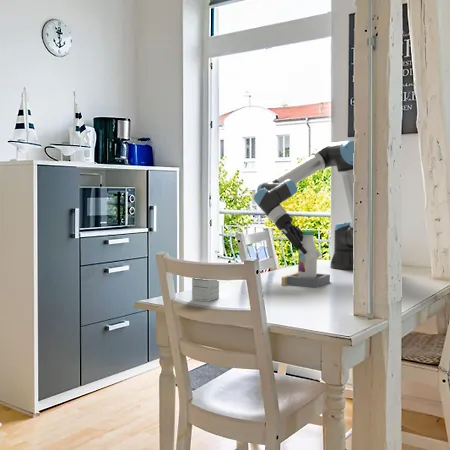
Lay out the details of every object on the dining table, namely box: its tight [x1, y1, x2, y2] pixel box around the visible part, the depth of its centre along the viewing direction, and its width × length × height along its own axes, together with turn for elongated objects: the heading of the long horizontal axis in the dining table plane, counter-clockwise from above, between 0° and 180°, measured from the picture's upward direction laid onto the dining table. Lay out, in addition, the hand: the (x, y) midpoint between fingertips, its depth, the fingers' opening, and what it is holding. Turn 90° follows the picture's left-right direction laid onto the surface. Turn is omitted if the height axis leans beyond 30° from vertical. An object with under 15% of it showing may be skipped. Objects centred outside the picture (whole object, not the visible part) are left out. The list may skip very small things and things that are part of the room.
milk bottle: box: [297, 230, 318, 278], centre depth 237 cm, size 8×8×20 cm
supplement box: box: [191, 277, 220, 303], centre depth 201 cm, size 7×7×13 cm
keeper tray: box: [280, 271, 331, 288], centre depth 238 cm, size 20×15×3 cm
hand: (315, 257), depth 235 cm, fingers open, 8 cm apart
